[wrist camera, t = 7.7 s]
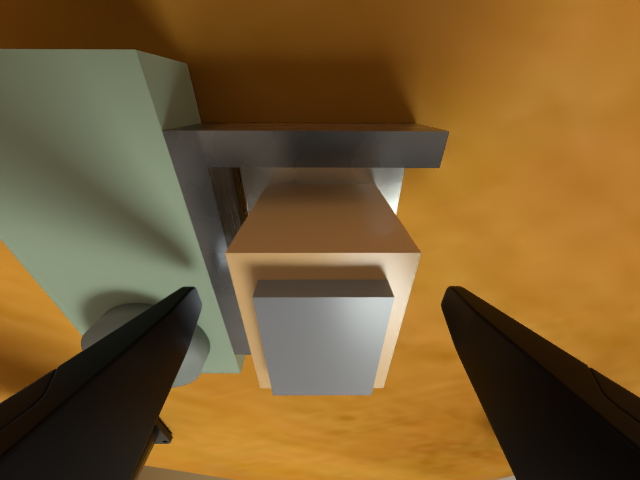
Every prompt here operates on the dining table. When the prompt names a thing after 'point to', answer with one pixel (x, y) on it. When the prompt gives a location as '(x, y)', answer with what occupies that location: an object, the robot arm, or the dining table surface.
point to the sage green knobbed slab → (103, 191)
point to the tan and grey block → (322, 286)
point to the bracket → (282, 177)
